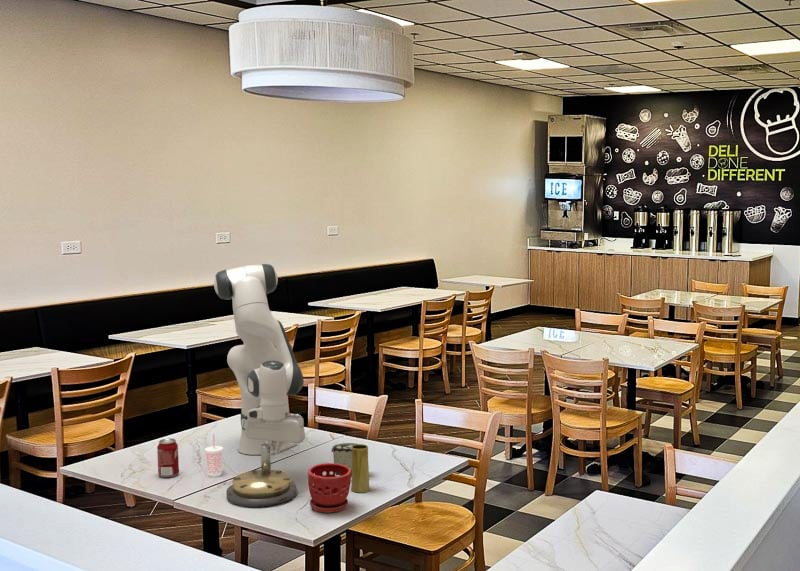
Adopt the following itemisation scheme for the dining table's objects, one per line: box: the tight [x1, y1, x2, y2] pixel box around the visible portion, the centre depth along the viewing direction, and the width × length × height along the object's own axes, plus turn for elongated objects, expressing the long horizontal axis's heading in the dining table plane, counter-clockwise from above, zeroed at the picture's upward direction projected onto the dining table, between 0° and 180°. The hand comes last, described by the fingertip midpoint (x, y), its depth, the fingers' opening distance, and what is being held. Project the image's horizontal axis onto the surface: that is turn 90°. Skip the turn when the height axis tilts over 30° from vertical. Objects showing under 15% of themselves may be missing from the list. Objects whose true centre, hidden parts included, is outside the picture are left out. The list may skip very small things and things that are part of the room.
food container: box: [330, 442, 358, 478], centre depth 282 cm, size 12×6×10 cm, turn 71°
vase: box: [350, 443, 371, 494], centre depth 267 cm, size 6×6×14 cm
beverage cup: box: [204, 433, 224, 477], centre depth 282 cm, size 6×6×14 cm
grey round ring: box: [225, 480, 298, 509], centre depth 263 cm, size 22×22×2 cm
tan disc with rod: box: [232, 444, 291, 498], centre depth 262 cm, size 18×18×12 cm
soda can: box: [156, 438, 180, 479], centre depth 282 cm, size 7×7×12 cm
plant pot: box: [307, 462, 352, 513], centre depth 252 cm, size 13×13×12 cm
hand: (275, 454), depth 268 cm, fingers closed
